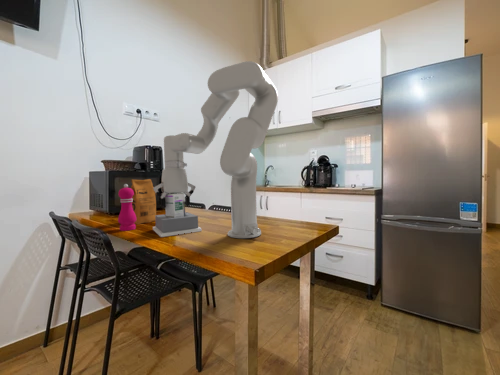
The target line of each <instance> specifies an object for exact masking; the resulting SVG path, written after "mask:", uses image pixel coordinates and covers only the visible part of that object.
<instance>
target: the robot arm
mask: <svg viewBox="0 0 500 375" xmlns="http://www.w3.org/2000/svg"><path fill="white" fill-rule="evenodd" d="M207 88H208V89H209V91H210V92H211V94H210V95H209V96H208V98H207V99H206V101H205V102H204V103H203V105H202V106H201V107H200V112H201V115H202V117H203V124H202V127H201V129H200V130H199V131H198V133H197V134H191V133H187V132H182V133H178V134H175V135H166V136H164V138H163V151H164V154H163V156H164V157H163V158H164V169H162V171H161V172H162V173H161V183H159V184H158V185H155V186H153V187H154V188H153V190H154V192H155V196H156V195H157V197H159V198H160V199H159V200H160V207H161V208H162V209H166V203H165V195H166V194H172V193H184V197H185V207H189V206H190V204H191V199H190V198H191V196H192V195H193V193H194V191H195V189H196V185H193V184H191V183H189V181H188V176H187V172H186V169H185V168H186V167H187V166H188V163H186V162H185V161H184V153H188V154H195V155H198V154H203V152H205V151H206V150H207V148H208V147H209V146H210V144H211V143H212V142H213V141H214V139H215V137H216V135H217V132H218V128H219V123H220V121H221V120H222V119H223V118H224V116H225V115H226V113H227V112H228V111H229V110H230V109H231V107H232V106H233V104H234V103H235V102H236V101H237V99H238V98H239V96H240V93H241V90H245V91H247V93H249V94H250V95H251V96H252V97H253V98H254V102H253V103H252V105H251V106H250V108H249V112H248V114H247V116H243V117H240V118H238V119H236V121H235V122H234V123H233V124H232V125H231V127H230V129H229V131H228V134H227V138H226V140H225V143H224V146H223V149H222V150H221V151H222V152H221V154H220V158H219V164H220V166H219V167H220V169H221V170H222V171H223V173H225V175H228V176H230V177H231V180H230V181H231V182H230V207H231V208H230V211H231V217H230V218H231V229H230V230H228V232H227V236H228V237H229V238H233V239H251V238H252V239H253V238H257V237H260V236H261V235H262V231H261V228H259V226H258V220H257V176H258V175H257V174H258V163H257V159H256V157H255V155H254V154H252V153H251V152H252V149H258V148H260V147H261V146H262V144H264V141H265V138H266V136H267V133H268V130H269V127H270V124H271V122H272V119H273V116H274V114H275V110H276V108H277V105H278V100H279V93H278V90H277V88H276V86H275V84H274V83H273V82H272V80H271V79H270V78H269V76H268V75H267V73H265V70H263V68H262V67H261V65H260V64H258V63H257V62H256V61H252V60H251V61H250V60H249V61H248V60H247V61H246V60H245V61H241V62H239V63H235V64H232V65H228V66H224V67H222V68H219V69H216V70H215V71H213V72H212V73H211V74H210V76H208V80H207ZM189 188H190V190H189ZM159 189H161V192H160V191H159Z"/></svg>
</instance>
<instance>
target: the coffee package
mask: <svg viewBox="0 0 500 375" xmlns="http://www.w3.org/2000/svg"><path fill="white" fill-rule="evenodd" d="M130 180H131V181H130V182H131V184H132V185H131V187H130V188H131V189H132V190H133V191H134V195H133V197H132V199H133V202H132V208H133V211H134V213H135V215H136V219H137V220H136V222H135V223H134V224H135V225H140V224H141V225H142V224H145V223H147V224H148V223H151V222H156V220H155V215H157V200H156V193H155V192H154V190H153V188H154V187H155V186H153V185H154V184H153V182H152V179H150V178H149V179H130Z"/></svg>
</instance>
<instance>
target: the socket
mask: <svg viewBox="0 0 500 375" xmlns="http://www.w3.org/2000/svg"><path fill="white" fill-rule="evenodd" d="M155 220H156V221H155V226H152V231H153V232H155V233H156V234H157V235H158V236H159V237H160V238H164V237H170V236H176V235H177V236H178V234H179V235H184V233H185V234H191V232H192V233H199V232H202V227H200V226H199V216H198V215H195V214H194V213H191V212H186V211H185V216H184V217H174V218H168V217H166V213H165V214H156V215H155Z"/></svg>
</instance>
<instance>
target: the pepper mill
mask: <svg viewBox="0 0 500 375" xmlns="http://www.w3.org/2000/svg"><path fill="white" fill-rule="evenodd" d="M117 193H118V194H117V195H118V198H120V203H121V204H120V205H121V209H120V212H119V215H118V218H117V222H118V223H119V231H121V232H126V231H132V230H136V228H137V226H136V225H137V224H134V223H135V222H136V220H137V219H136V215H135V213H134V211H133V208H132V202H133V199H132V197H133V195H134V191H133V190H132V189H131V187H129V185H128V184H127V183H124V184H123V187H122V188H120V189H119V190H118V192H117Z"/></svg>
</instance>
